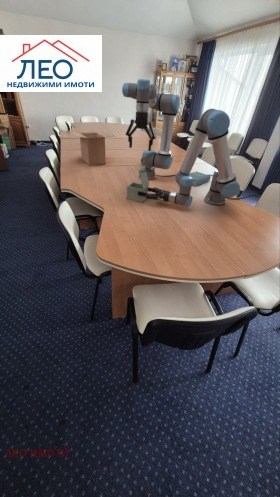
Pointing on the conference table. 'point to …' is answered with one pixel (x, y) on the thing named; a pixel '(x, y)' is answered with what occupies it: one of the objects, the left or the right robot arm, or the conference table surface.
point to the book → (199, 178)
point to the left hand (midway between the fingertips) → (139, 149)
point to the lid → (144, 175)
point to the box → (92, 146)
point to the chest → (136, 192)
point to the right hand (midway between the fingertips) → (140, 190)
